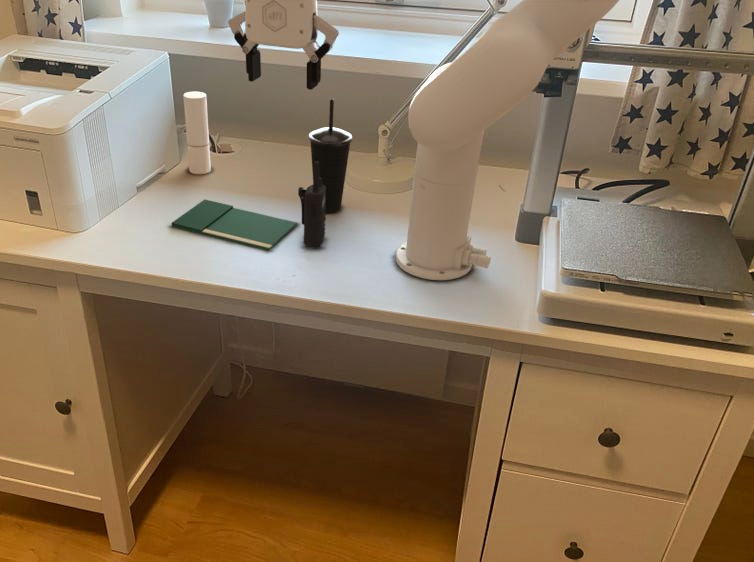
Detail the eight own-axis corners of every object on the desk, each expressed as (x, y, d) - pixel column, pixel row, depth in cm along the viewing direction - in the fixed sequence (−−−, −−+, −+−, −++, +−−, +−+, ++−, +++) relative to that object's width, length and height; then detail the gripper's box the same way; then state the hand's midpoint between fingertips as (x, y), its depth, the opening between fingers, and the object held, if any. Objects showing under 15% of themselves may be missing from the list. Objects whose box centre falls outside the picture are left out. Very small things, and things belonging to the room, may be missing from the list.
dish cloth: (297, 224, 134) (297, 220, 134) (268, 250, 126) (268, 246, 126) (204, 203, 140) (204, 199, 140) (171, 226, 132) (171, 222, 131)
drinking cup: (344, 219, 137) (349, 108, 125) (303, 213, 138) (304, 103, 126) (351, 201, 143) (357, 95, 131) (312, 197, 144) (315, 90, 132)
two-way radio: (321, 251, 127) (323, 165, 118) (295, 248, 127) (295, 163, 118) (326, 236, 131) (329, 153, 122) (301, 233, 132) (302, 150, 123)
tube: (215, 170, 152) (210, 95, 144) (197, 176, 150) (191, 99, 141) (202, 164, 155) (197, 90, 146) (185, 169, 152) (178, 94, 144)
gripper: (214, -43, 106) (221, 82, 116) (329, -33, 101) (327, 97, 111) (237, -50, 111) (243, 70, 121) (348, -40, 107) (344, 83, 117)
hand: (283, 83), depth 116 cm, fingers open, 9 cm apart
